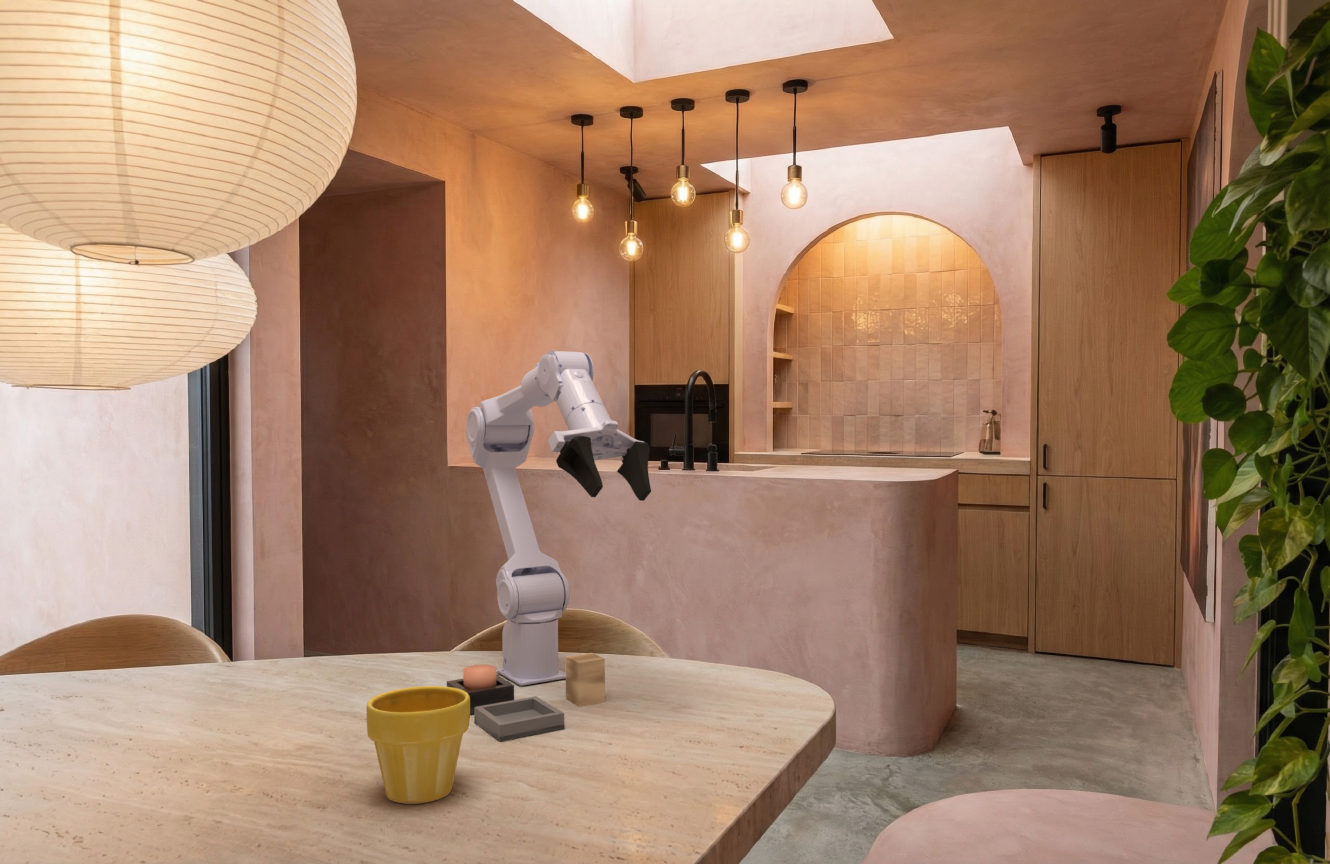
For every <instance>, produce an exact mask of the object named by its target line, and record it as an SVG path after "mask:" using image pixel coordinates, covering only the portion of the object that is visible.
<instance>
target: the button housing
mask: <svg viewBox="0 0 1330 864" xmlns="http://www.w3.org/2000/svg"><path fill="white" fill-rule="evenodd" d="M446 687H452V688H457V689H460V690H463V691H465V692H467V693H468V695H469V697H470V716H473V715H474V707H478V706H484V705H489V704H495V703H501V702H506V701H512V700H515V685H514V684H512V683H511V682H510V681H507V680H506V679H504V678H503V677H501V676H500V675H498V674H496V686H493V687H487V688H481V689H475V690H467V689H466V688H464V678H459V679H452V680H447V681H446Z"/></svg>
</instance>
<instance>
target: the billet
mask: <svg viewBox="0 0 1330 864" xmlns="http://www.w3.org/2000/svg"><path fill="white" fill-rule="evenodd" d="M605 666H606V663H605V658H604V657H603V656H600V655H598V654H595V653H593V652H588V653H581V654H574V655H567V656H565V673H566V678H565V700H566V701H568V702H569V703H571V704H573V705H575V706H576V707H579V708H580V707H584V706H591V705H596V704H601V703H606V681H605V680H606V669H605V668H606V667H605Z"/></svg>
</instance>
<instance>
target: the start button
mask: <svg viewBox="0 0 1330 864" xmlns="http://www.w3.org/2000/svg"><path fill="white" fill-rule="evenodd" d="M462 671H463V679H464V688H466V689H467V690H475V689H481V688H487V687H493V686H496V675H497V666H495V665H494V664H493V665H492V664H483V663H482V664H473V665H469V666H466V667H464V668H463V670H462Z"/></svg>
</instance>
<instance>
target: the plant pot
mask: <svg viewBox="0 0 1330 864" xmlns="http://www.w3.org/2000/svg"><path fill="white" fill-rule="evenodd" d="M470 717H471V715H470V697H469V695H468V693H467V692H465V691H463V690H460V689H457V688H452V687H447V686H442V685H441V686H440V685H426V686H425V685H423V686H411V687H405V688H404V687H403V688H397V689H393V690H389V691H386V692H383V693H380V694H377V695H375V696H373V697H371V698H370V699H369V700H368V701H367V703H366V731H367V732H366V733H367V737H368V738H369V739H370V740H371V741H372V742H374V747H375V751H376V756H377V760H378V765H379V769H380V774H381V778H382V783H383V788H384V791H385V796H386V798H388V799H389V801H392V802H395V803H398V804H402V805H403V804H405V805H418V804H420V805H421V804H426V803H430V802H435V801H437V800H441V799H442V798H444V797H446V796H448V795H449V794H450V793H451V792H452V788H453V786H454V779H455V775H456V774H455V773H456V769H457V766H458V765H457V764H458V760H459V756H460V749H461V747H462V741H463V736H464V734H465V733H466V732H467V731H468V730H469V728H470V720H471V719H470Z"/></svg>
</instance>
